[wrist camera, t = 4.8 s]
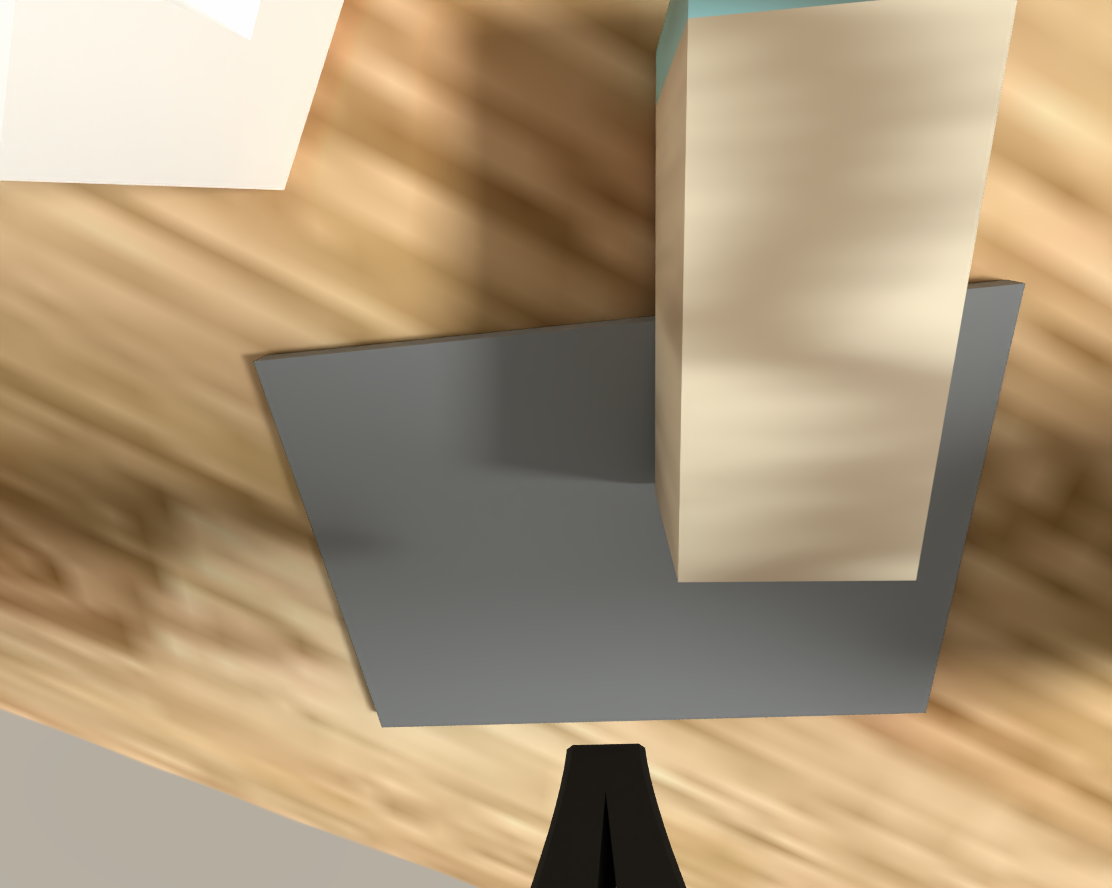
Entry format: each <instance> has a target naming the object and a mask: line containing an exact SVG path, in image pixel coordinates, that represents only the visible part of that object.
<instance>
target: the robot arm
mask: <svg viewBox="0 0 1112 888" xmlns="http://www.w3.org/2000/svg"><path fill="white" fill-rule="evenodd" d="M616 887H617V888H686V886H685V883H684V881H683V878H682V875H681V872H680V870H679V867H678V864H677V862H676V859H675V856H674V854H673V851H672V848H671V845H670V842H669V839H668V836H667V833H666V830H665V827H664V824H663V821H662V817H661V814H660V811H659V808H658V804H657V801H656V797H655V793H654V790H653V786H652V782H651V778H650V773H649V768H648V764H647V758H646V751H645V748H644V747H643V746H641V745H640V744H603V745H572V746H571V747H570V748H568V749H567V754H566V760H565V766H564V772H563V776H562V781H561V786H560V790H559V794H558V798H557V802H556V806H555V810H554V814H553V817H552V821H551V825H550V828H549V832H548V835H547V838H546V841H545V845H544V848H543V851H542V854H541V857H540V860H539V864H538V867H537V870H536V873H535V876H534V879H533V882H532V885H531V888H616Z"/></svg>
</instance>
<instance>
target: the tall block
mask: <svg viewBox="0 0 1112 888" xmlns="http://www.w3.org/2000/svg"><path fill="white" fill-rule="evenodd" d="M1016 4H1017V0H670V3H669V7H668V11H667V14H666V18H665V22H664V25H663V29H662V32H661V36H660V40H659V43H658V47H657V51H656V274H655V494H656V498H657V502H658V506H659V510H660V514H661V518H662V521H663V525H664V529H665V533H666V537H667V541H668V545H669V549H670V552H671V556H672V560H673V564H674V568H675V572H676V576H677V580H678V582H774V581H903V580H916V578H917V572H918V566H919V560H920V555H921V549H922V543H923V537H924V532H925V526H926V520H927V514H928V509H929V503H930V497H931V491H932V486H933V480H934V474H935V469H936V463H937V457H938V451H939V446H940V440H941V434H942V428H943V423H944V417H945V411H946V405H947V400H948V394H949V388H950V383H951V377H952V371H953V365H954V360H955V354H956V348H957V342H958V337H959V331H960V325H961V319H962V314H963V308H964V302H965V296H966V291H967V285H968V279H969V274H970V268H971V262H972V256H973V251H974V245H975V239H976V233H977V228H978V222H979V216H980V210H981V205H982V199H983V193H984V188H985V182H986V176H987V170H988V165H989V159H990V153H991V147H992V142H993V136H994V130H995V124H996V119H997V113H998V107H999V101H1000V96H1001V90H1002V84H1003V79H1004V73H1005V67H1006V61H1007V56H1008V50H1009V44H1010V38H1011V33H1012V27H1013V21H1014V15H1015V10H1016Z"/></svg>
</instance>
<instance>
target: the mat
mask: <svg viewBox="0 0 1112 888" xmlns="http://www.w3.org/2000/svg"><path fill="white" fill-rule="evenodd" d="M1024 286H1025V283H1021V282H1016V281H1010V280H1000V281H990V282H981V283H971V284H968V285H967V291H966V296H965V302H964V308H963V314H962V319H961V325H960V331H959V337H958V342H957V348H956V354H955V360H954V365H953V371H952V377H951V383H950V388H949V394H948V400H947V405H946V411H945V417H944V423H943V428H942V434H941V440H940V446H939V451H938V457H937V463H936V469H935V474H934V480H933V486H932V491H931V497H930V503H929V509H928V514H927V520H926V526H925V532H924V537H923V543H922V549H921V555H920V560H919V566H918V572H917V578H916V580H903V581H774V582H678V580H677V576H676V572H675V568H674V564H673V560H672V556H671V552H670V549H669V545H668V541H667V537H666V533H665V529H664V525H663V521H662V518H661V514H660V510H659V506H658V502H657V498H656V494H655V316H648V317H638V318H628V319H618V320H609V321H599V322H589V323H579V324H570V325H560V326H550V327H540V328H530V329H521V330H511V331H501V332H491V333H481V334H472V335H462V336H452V337H442V338H432V339H423V340H413V341H403V342H393V343H384V344H374V345H364V346H354V347H344V348H335V349H325V350H315V351H305V352H295V353H286V354H276V355H266V356H264V357H262V358H260V359H257V360H255V361H253V362H254V365H255V368H256V370H257V373H258V376H259V379H260V382H261V385H262V387H263V390H264V393H265V396H266V399H267V402H268V405H269V407H270V410H271V413H272V416H273V419H274V422H275V424H276V427H277V430H278V433H279V436H280V439H281V442H282V444H283V447H284V450H285V453H286V456H287V459H288V461H289V464H290V467H291V470H292V473H293V476H294V479H295V481H296V484H297V487H298V490H299V493H300V496H301V498H302V501H303V504H304V507H305V510H306V513H307V515H308V518H309V521H310V524H311V527H312V530H313V533H314V535H315V538H316V541H317V544H318V547H319V550H320V552H321V555H322V558H323V561H324V564H325V567H326V570H327V572H328V575H329V578H330V581H331V584H332V587H333V589H334V592H335V595H336V598H337V601H338V604H339V607H340V609H341V612H342V615H343V618H344V621H345V624H346V626H347V629H348V632H349V635H350V638H351V641H352V643H353V646H354V649H355V652H356V655H357V658H358V661H359V663H360V666H361V669H362V672H363V675H364V678H365V680H366V683H367V686H368V689H369V692H370V695H371V698H372V700H373V703H374V706H375V709H376V712H377V715H378V717H379V720H380V723H381V726H382V727H414V726H452V725H489V724H526V723H564V722H601V721H639V720H676V719H713V718H751V717H788V716H826V715H863V714H900V713H926V709H927V704H928V700H929V696H930V691H931V687H932V683H933V678H934V674H935V670H936V666H937V661H938V657H939V653H940V648H941V644H942V640H943V635H944V631H945V627H946V622H947V618H948V614H949V609H950V605H951V601H952V597H953V592H954V588H955V584H956V579H957V575H958V571H959V566H960V562H961V558H962V553H963V549H964V545H965V541H966V536H967V532H968V528H969V523H970V519H971V515H972V510H973V506H974V502H975V497H976V493H977V489H978V484H979V480H980V476H981V472H982V467H983V463H984V459H985V454H986V450H987V446H988V441H989V437H990V433H991V428H992V424H993V420H994V415H995V411H996V407H997V403H998V398H999V394H1000V390H1001V385H1002V381H1003V377H1004V372H1005V368H1006V364H1007V359H1008V355H1009V351H1010V347H1011V342H1012V338H1013V334H1014V329H1015V325H1016V321H1017V316H1018V312H1019V308H1020V303H1021V299H1022V295H1023V290H1024Z"/></svg>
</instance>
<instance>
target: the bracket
mask: <svg viewBox="0 0 1112 888" xmlns="http://www.w3.org/2000/svg"><path fill="white" fill-rule="evenodd" d="M343 2H344V0H0V180H5V181H35V182H64V183H93V184H123V185H152V186H181V187H211V188H240V189H270V190H284V189H285V186H286V183H287V179H288V176H289V173H290V170H291V167H292V163H293V160H294V157H295V154H296V151H297V148H298V144H299V141H300V138H301V135H302V132H303V129H304V125H305V122H306V119H307V116H308V113H309V110H310V106H311V103H312V100H313V97H314V94H315V90H316V87H317V84H318V81H319V78H320V75H321V71H322V68H323V65H324V62H325V59H326V56H327V52H328V49H329V46H330V43H331V40H332V37H333V33H334V30H335V27H336V24H337V21H338V17H339V14H340V11H341V8H342V5H343Z"/></svg>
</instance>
